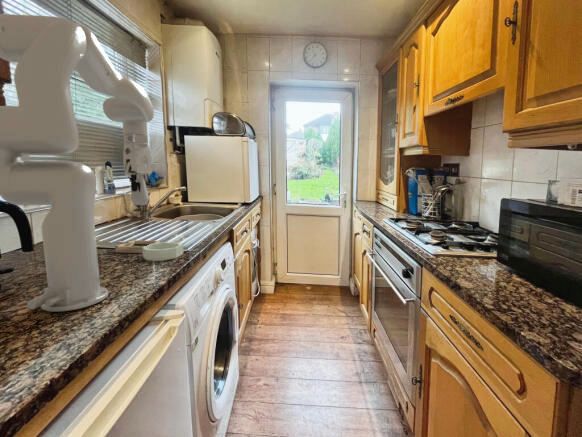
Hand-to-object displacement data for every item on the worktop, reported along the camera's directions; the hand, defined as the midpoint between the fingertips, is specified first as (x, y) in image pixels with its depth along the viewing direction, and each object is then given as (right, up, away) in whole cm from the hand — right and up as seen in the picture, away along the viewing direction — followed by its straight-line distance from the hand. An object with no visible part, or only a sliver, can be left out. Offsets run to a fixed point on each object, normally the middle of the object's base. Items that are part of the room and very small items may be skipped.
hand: (139, 192), depth 107 cm
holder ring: (+10, -22, -4) cm, 25 cm away
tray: (-2, -21, +4) cm, 22 cm away
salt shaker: (0, -4, 0) cm, 4 cm away
